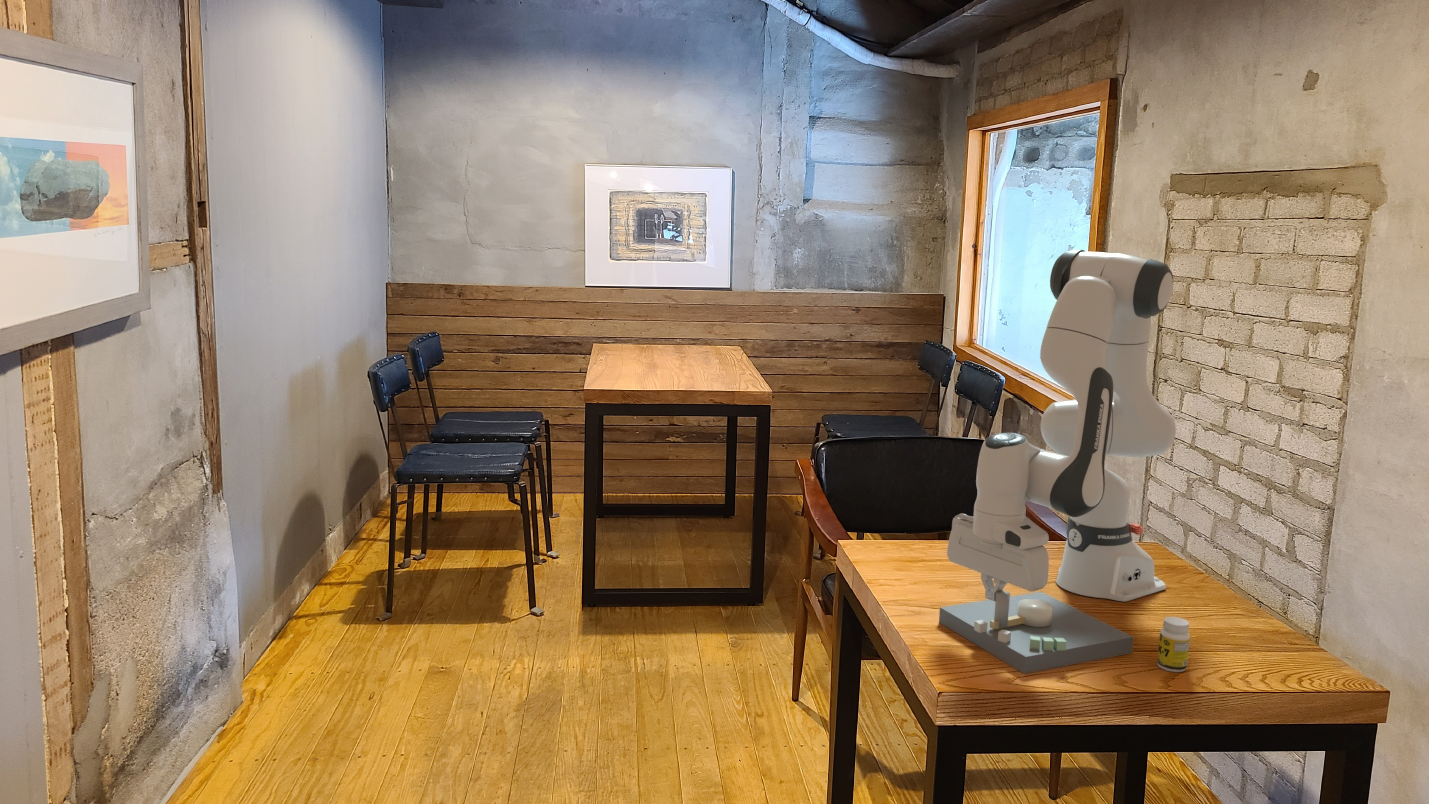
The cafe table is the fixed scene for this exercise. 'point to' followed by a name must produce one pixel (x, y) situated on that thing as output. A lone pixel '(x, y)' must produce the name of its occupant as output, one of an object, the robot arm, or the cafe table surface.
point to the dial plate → (1037, 634)
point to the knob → (1021, 612)
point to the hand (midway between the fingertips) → (992, 599)
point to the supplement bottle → (1174, 645)
